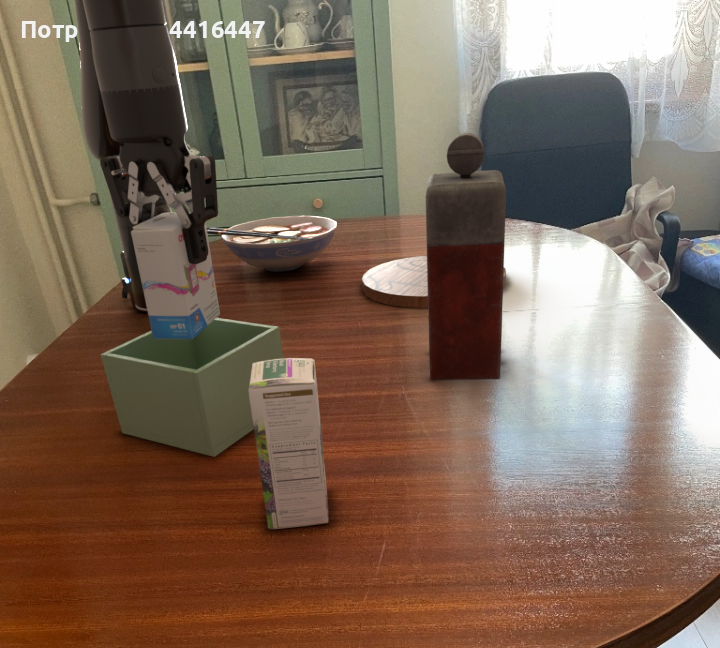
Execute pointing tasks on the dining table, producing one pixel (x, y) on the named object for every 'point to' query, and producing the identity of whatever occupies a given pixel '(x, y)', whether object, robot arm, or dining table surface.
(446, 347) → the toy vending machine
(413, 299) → the trivet
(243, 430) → the waste bin
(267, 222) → the ramen bowl
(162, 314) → the ink box
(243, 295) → the dining table surface
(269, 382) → the syrup box
